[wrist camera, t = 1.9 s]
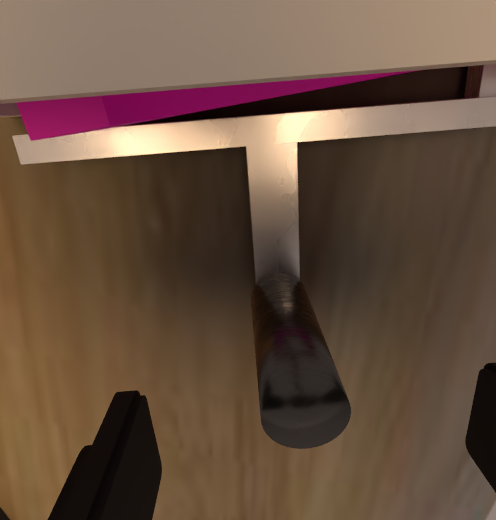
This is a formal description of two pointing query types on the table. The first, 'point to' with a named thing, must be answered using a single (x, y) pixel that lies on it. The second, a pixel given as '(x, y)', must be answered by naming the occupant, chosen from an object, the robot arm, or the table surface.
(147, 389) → the table surface
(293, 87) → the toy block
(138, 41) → the tunnel
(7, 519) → the smart home device
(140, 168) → the table surface
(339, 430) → the slider
